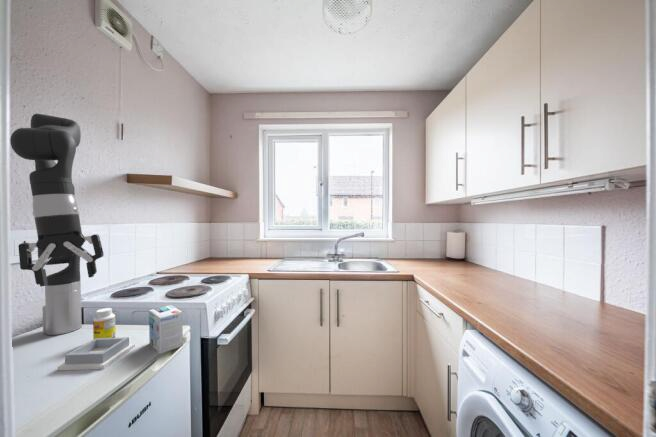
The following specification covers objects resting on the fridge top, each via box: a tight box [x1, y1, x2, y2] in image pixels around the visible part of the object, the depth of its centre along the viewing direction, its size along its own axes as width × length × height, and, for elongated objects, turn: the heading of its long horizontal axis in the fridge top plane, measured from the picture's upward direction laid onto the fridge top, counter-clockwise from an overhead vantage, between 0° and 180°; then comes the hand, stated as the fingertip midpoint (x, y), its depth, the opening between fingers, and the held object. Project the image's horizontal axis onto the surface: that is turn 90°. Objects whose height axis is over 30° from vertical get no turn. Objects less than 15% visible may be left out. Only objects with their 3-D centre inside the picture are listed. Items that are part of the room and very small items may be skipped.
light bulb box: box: [148, 304, 184, 354], centre depth 85 cm, size 11×7×11 cm, turn 48°
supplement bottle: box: [92, 307, 116, 339], centre depth 89 cm, size 6×6×10 cm
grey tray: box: [57, 336, 136, 371], centre depth 78 cm, size 12×12×4 cm
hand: (68, 281), depth 65 cm, fingers open, 8 cm apart
